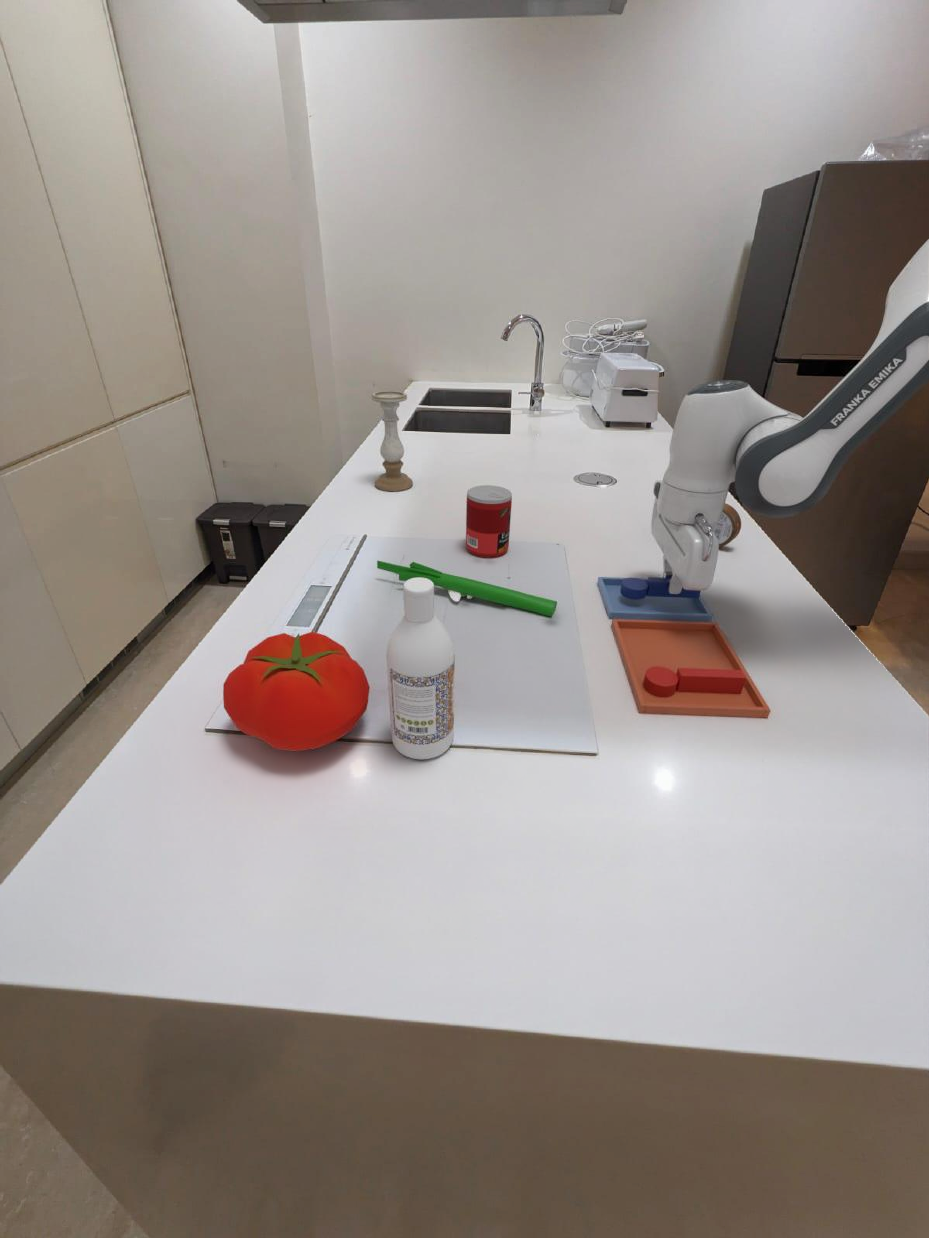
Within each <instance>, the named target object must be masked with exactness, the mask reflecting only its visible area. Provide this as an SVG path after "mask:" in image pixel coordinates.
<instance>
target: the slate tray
mask: <svg viewBox="0 0 929 1238" xmlns="http://www.w3.org/2000/svg"><path fill="white" fill-rule="evenodd" d="M597 577H598V578H597V582H596V583H597V588H598V590H599V593H600V596H601V599H602V602H603V603H602V604H603V607H604V608H605V612H606V615H607V618H608V620H612V619H630V620H659V621H688V622H712V619H713V614H712V612H711V610H710V609H709V607H708V605H707V604H706V603H705V600H704V599H703V597H702V596H701V595H700V596H699V598H680V597H653V596H647V595H646V597H645V598H643V599H640V600H633V599H629V598H626V597H624V596H623V595H622V594H621V593H620V590H621V584H622V581H623V580H624V579H625V578H626V577H618V576H617V577H616V576H615V577H614V576H597ZM638 578H639V579H642V580H644V581H646V582H647V580H648V577H647V578H644V577H642V578H641V577H638Z"/></svg>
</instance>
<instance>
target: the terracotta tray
mask: <svg viewBox="0 0 929 1238" xmlns="http://www.w3.org/2000/svg"><path fill="white" fill-rule="evenodd" d="M718 623H719V622H716V621H715V622H712V621H711V622H688V621H659V620H630V619H611V625H610V627H611V630H612V633H613V636H614V641H615V642H616V646H617V649H618V653H619V655H620V659H621V661H622V664H623V667H624V669H625V670H624V671H625V674H626V677H627V680H628V683H629V687H630V689H631V692H632V695H633V699H634V702H635V705H636V708H637V711H638V713H639V714H644V715H671V716H672V715H673V716H696V717H718V718H719V717H722V718H747V719H750V718H751V719H768V718H769V716H770V714H771V709H770V707H769V705H768V704H767V702H766V700H765V698H764V697H763V696H762V693H761V692H760V690H759V689H758V686H757V685H756V684H755V682H754V681H753V679H752V677H751V676H750V674H749V672H748V671H747V669H746V667H745V665H743V663H742V661H741V660H740V658H739V656H738V655H737V652H735V650H734V648H733V646H732V644H731V643H730V641H729V639H728V638H727V636H726V635H725V633H724V632H723V630H722V628H721V627H720V625H719V624H718ZM656 666H658V667H665V668H668V669H670V670H672V671H673V672H675V673H677V669H678V668H697V669H724V670H742V671H743V673H744V674H745V676H746V681H745V684H744V686H743V689H742V692H741V694H730V693H703V692H677V691H675V693H674V694H673V695H672V696H669V697H658V696H655V695H652V694H650V693H649V692H647V691H646V690H645V688H644V687H643V681H644V677H645V673H646V670H647V669H649V668H651V667H656Z"/></svg>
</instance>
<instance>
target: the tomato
mask: <svg viewBox="0 0 929 1238" xmlns="http://www.w3.org/2000/svg"><path fill="white" fill-rule="evenodd" d="M222 687H223V689H222V694H223V695H222V696H223V697H222V699H223V709H224V710H225V712H226V714H227V715H228V717H229V718H230V720H231V721H232V722H233V724H234V725H235V726H236V728H237V729H238V730H240V731H241V732H242V733H243V734H245V735H247V736H250V737H253V738H256V739H260V740H262V741H263V742H265V743H267V744H268V745H270V746H271V747H272V748H274V749H275V750H283V751H284V750H285V751H290V752H291V751H293V752H301V751H307V750H313V749H318V748H321V747H323V746H326V745H329V744H331V743H333V742H335V741H337V740H339V739H341V738H342V737H343V736H345V735H346V734H348V733H349V732H350V731H352V730H353V729H354V727H356V725H357V724H358V722H359V721H360V719H361V718H362V717H363V715H364V714H365V712H366V711H367V709H368V703H369V695H370V684H369V681H368V678H367V675H366V673H365V671H364V668H363V667H362V666H361V665H360V664H359V663H358V661H357V660H354V659H352V656H351V655H350V654H349V652H348V651H347V649H346V648H345V646H343V645H342V644H340V643H339V642H337V641H335V640H334V639H332V638H330V637H329V636H328V635H326V634H322V633H319V632H316V631H310V632H306V633H304V634H300V633H298V634H297V635H296V636H293V635H291V634H288V633H285V632H282V633H278V634H275V635H271V636H269V637H268V636H267V637H265V639H263V640H262V641H261V642H259V643H258V644H256V645H255V646H254V647H251V649H249V650H248V652H247V654H246V656H245V659H244V661H243V663H241V664H239V665H238V666H237V667H236V668H234V669H233V670H232V671H230V673H228V675H227V677H226V679H225V680H224V682H223V686H222Z"/></svg>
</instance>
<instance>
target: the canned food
mask: <svg viewBox="0 0 929 1238" xmlns="http://www.w3.org/2000/svg"><path fill="white" fill-rule="evenodd" d="M512 501H513V493H512V491H511V490H509V489H507V488H505V487H503V486H499V485H490V484H489V485H488V484H487V485H486V484H485V485H484V484H483V485H476V486H473V487H470V488H469V489H468V490H467V491H466V505H465V506H466V509H465V510H466V512H465V515H466V516H465V517H466V518H465V547H466V549H467V551H468V552H469V553H470V554H471V555H473V556H475V557H479V558H486V559H489V558H490V559H491V558H498V557H501V556H504V555H505V554H506V553H507V552H508V550H509V546H510V531H511V517H512V503H513V502H512Z"/></svg>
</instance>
